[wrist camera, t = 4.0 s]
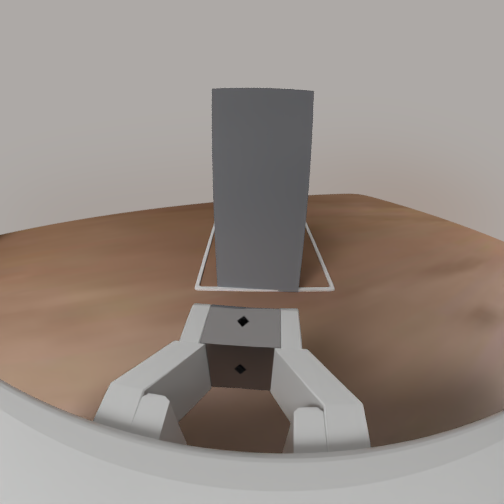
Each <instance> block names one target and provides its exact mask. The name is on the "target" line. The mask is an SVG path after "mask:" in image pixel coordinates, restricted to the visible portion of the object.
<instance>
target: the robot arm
mask: <svg viewBox="0 0 504 504" xmlns="http://www.w3.org/2000/svg"><path fill="white" fill-rule="evenodd" d="M211 386H212V387H226V388H242V389H254V390H268V391H270V392H271V394H272V395H273V397H274V398H275V400H276V402H277V403H278V405H279V406H280V408H281V409H282V411H283V412H284V414H285V415H286V417H287V418H288V420H289V421H290V423H291V424H290V427H289V431H288V435H287V438H286V441H285V445H284V448H283V453H255V452H240V451H229V450H219V449H211V448H203V447H196V446H190V445H187V443H186V440H185V438H184V436H183V433H182V431H181V429H180V426H179V424H178V422H179V421H180V420H181V419H182V418H183V417H184V416H185V415H186V414H187V413H188V412H189V411H190V410H191V409H192V408H193V407H194V406H195V405H196V404H197V403H198V401H199V400H200V399H201V398H202V397H203V396H204V395H205V394H206V393H207V392H208V391H209V390H210V389H211ZM0 504H504V410H503V411H501V412H498V413H496V414H494V415H491V416H489V417H486V418H484V419H481V420H478V421H475V422H473V423H470V424H467V425H464V426H461V427H458V428H455V429H452V430H448V431H445V432H441V433H438V434H434V435H430V436H427V437H423V438H418V439H414V440H410V441H405V442H400V443H395V444H389V445H383V446H377V447H371V444H370V439H369V433H368V428H367V423H366V418H365V413H364V408H363V403H362V402H361V401H360V400H358V399H357V398H356V397H355V396H354V395H353V394H352V393H351V392H350V391H349V390H348V389H347V388H346V387H345V386H344V385H343V384H342V383H341V382H340V381H339V380H338V379H337V378H336V377H335V376H334V375H333V374H332V373H331V372H330V371H329V370H328V369H327V368H326V367H325V366H324V365H323V364H322V363H321V362H320V361H319V360H318V359H317V358H316V357H315V356H314V355H313V354H312V353H311V352H310V351H309V350H308V349H302V340H301V329H300V319H299V310H298V309H297V308H280V309H270V308H246V307H235V306H224V305H210V304H199V303H195V304H194V305H193V306H192V308H191V310H190V313H189V316H188V318H187V321H186V324H185V327H184V329H183V332H182V335H181V338H180V340H179V341H173V342H171V343H170V344H168V345H167V346H166V347H164V348H163V349H161V350H160V351H158V352H157V353H155V354H154V355H152V356H151V357H149V358H148V359H146V360H145V361H143V362H142V363H140V364H139V365H137V366H136V367H134V368H133V369H131V370H130V371H128V372H127V373H125V374H124V375H122V376H121V377H119V378H118V379H116V380H115V381H113V382H111V384H110V386H109V388H108V390H107V392H106V394H105V396H104V398H103V400H102V403H101V405H100V407H99V409H98V411H97V413H96V416H95V418H94V420H93V421H91V420H88V419H85V418H82V417H80V416H77V415H74V414H72V413H69V412H67V411H64V410H62V409H59V408H57V407H55V406H52V405H50V404H48V403H46V402H43V401H41V400H39V399H37V398H35V397H33V396H31V395H29V394H27V393H25V392H23V391H21V390H19V389H17V388H15V387H13V386H11V385H10V384H8V383H6V382H4V381H3V380H1V379H0Z"/></svg>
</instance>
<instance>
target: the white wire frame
mask: <svg viewBox="0 0 504 504" xmlns="http://www.w3.org/2000/svg"><path fill="white" fill-rule="evenodd" d="M305 227H306V230H307V232H308V234H309V237H310V239H311V242H312V244H313V246H314V249H315V251H316V254H317V256H318V259H319V261H320V264H321V266H322V268H323V271H324V274H325V276H326V279H327V281H328V284H329V286H330V287H299V288H298V291H334V286H333V283H332V281H331V278H330V276H329V274H328V271H327V269H326V266H325V264H324V262H323V259H322V257H321V255H320V252H319V250H318V248H317V245H316V243H315V241H314V239H313V236H312V234H311V232H310V230H309V227H308V225H307V223H306V224H305ZM214 231H215V226H214V225H213V228H212V232H211V235H210V238H209V241H208V245H207V248H206V251H205V254H204V258H203V261H202V265H201V268H200V271H199V275H198V278H197V282H196V285H195V290H207V291H273V292H284V291H278V290H267V289H246V288H228V287H203V286H199V285H200V282H201V278H202V274H203V270H204V267H205V263H206V260H207V256H208V252H209V249H210V245H211V242H212V238H213V235H214Z"/></svg>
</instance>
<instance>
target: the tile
mask: <svg viewBox="0 0 504 504" xmlns="http://www.w3.org/2000/svg"><path fill="white" fill-rule="evenodd" d="M313 100H314V91H307V90H294V89H274V88H220V89H212V159H213V160H212V161H213V199H214V226H215V248H216V267H217V285H218V287H228V288H246V289H267V290H278V291H284V292H298V288H299V280H300V272H301V263H302V254H303V244H304V234H305V224H306V213H307V201H308V188H309V175H310V161H311V144H312V123H313Z"/></svg>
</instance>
